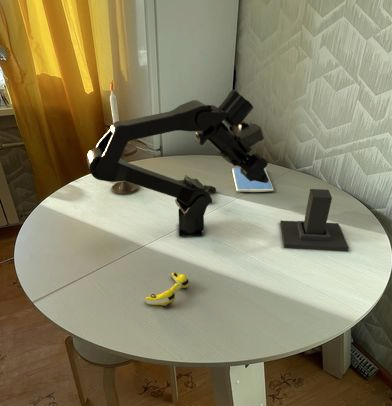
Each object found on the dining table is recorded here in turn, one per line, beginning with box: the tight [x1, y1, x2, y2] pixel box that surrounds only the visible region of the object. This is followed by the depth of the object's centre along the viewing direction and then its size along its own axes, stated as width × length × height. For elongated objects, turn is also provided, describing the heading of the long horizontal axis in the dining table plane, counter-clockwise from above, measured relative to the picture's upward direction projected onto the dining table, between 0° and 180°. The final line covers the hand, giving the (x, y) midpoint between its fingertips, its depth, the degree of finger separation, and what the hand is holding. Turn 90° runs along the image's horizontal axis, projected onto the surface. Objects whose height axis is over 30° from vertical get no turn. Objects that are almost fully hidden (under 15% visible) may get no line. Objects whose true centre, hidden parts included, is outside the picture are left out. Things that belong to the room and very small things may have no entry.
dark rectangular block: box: [303, 188, 333, 235], centre depth 92 cm, size 5×5×12 cm
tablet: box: [231, 167, 274, 193], centre depth 126 cm, size 19×13×1 cm, turn 0°
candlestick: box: [109, 79, 140, 196], centre depth 112 cm, size 11×11×35 cm
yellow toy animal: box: [144, 272, 190, 307], centre depth 77 cm, size 10×6×4 cm, turn 148°
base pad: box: [280, 220, 349, 252], centre depth 95 cm, size 16×12×3 cm
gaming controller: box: [203, 184, 217, 205], centre depth 115 cm, size 10×5×6 cm
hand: (259, 175), depth 98 cm, fingers open, 9 cm apart
